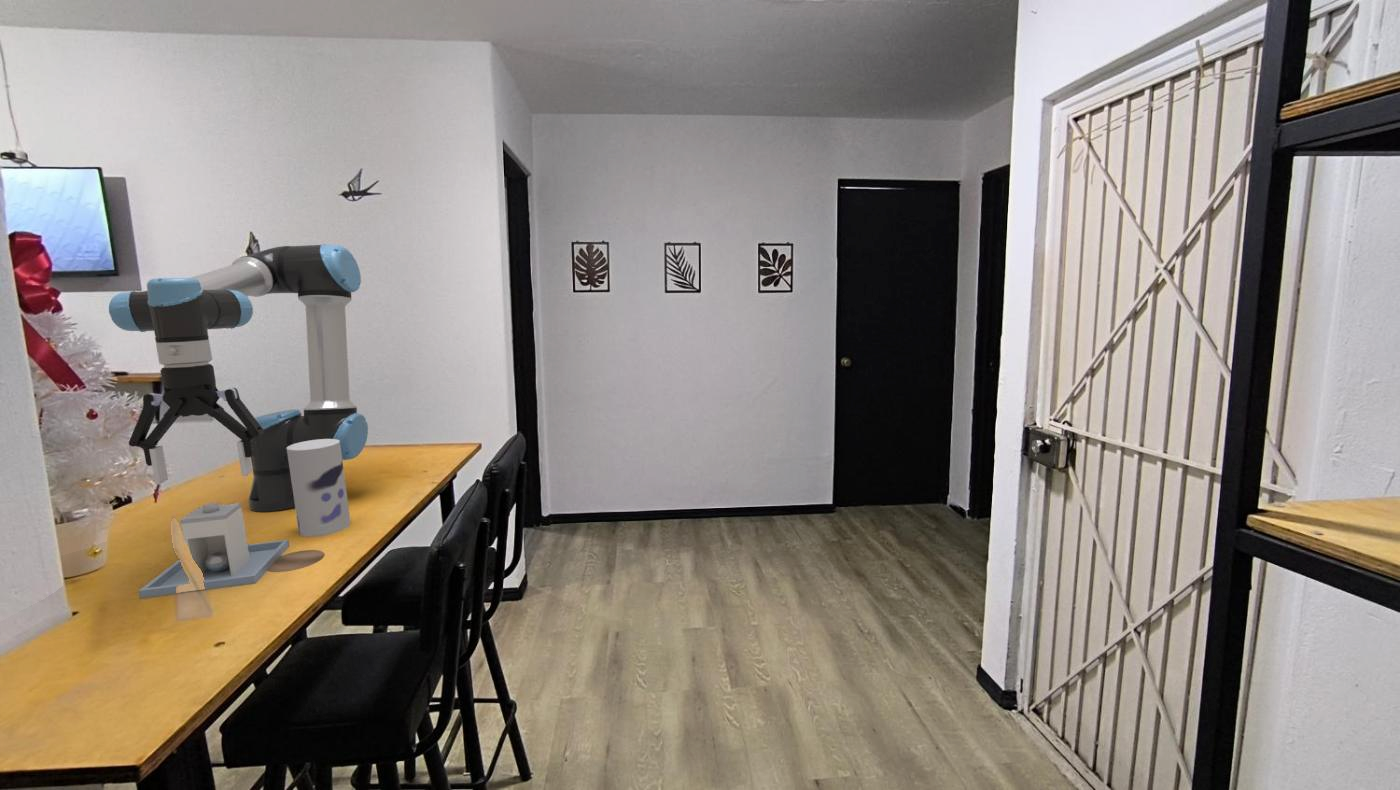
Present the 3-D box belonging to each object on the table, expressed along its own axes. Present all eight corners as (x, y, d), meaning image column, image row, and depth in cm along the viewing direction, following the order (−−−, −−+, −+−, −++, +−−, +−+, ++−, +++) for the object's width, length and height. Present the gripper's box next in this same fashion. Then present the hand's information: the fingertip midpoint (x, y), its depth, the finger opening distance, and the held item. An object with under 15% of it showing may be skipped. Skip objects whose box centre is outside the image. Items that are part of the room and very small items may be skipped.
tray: (191, 560, 127) (189, 551, 127) (290, 548, 131) (288, 539, 131) (140, 601, 110) (138, 590, 110) (256, 586, 115) (254, 575, 114)
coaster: (276, 556, 127) (275, 554, 127) (331, 549, 130) (330, 547, 130) (256, 578, 118) (255, 575, 118) (316, 570, 121) (315, 567, 120)
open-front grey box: (208, 564, 123) (197, 501, 121) (249, 559, 125) (239, 497, 123) (190, 580, 116) (178, 513, 114) (234, 574, 118) (223, 508, 116)
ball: (212, 568, 122) (209, 548, 121) (236, 565, 123) (233, 545, 122) (203, 577, 118) (199, 556, 117) (227, 573, 119) (224, 553, 118)
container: (327, 540, 135) (315, 449, 132) (288, 537, 137) (274, 448, 134) (360, 523, 145) (350, 438, 142) (323, 521, 147) (312, 437, 144)
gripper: (89, 371, 107) (111, 491, 111) (257, 362, 114) (273, 476, 117) (116, 366, 114) (136, 479, 118) (273, 358, 121) (288, 466, 124)
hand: (205, 478), depth 117 cm, fingers open, 13 cm apart
